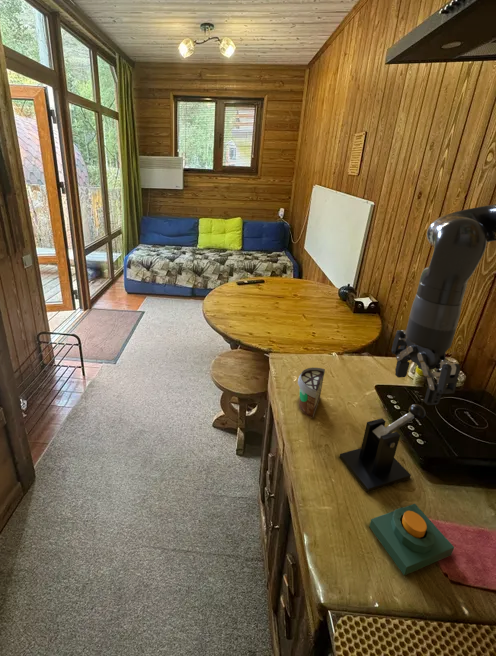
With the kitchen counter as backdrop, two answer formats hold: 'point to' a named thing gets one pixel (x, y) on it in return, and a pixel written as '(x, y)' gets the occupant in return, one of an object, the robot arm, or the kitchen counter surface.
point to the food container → (310, 389)
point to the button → (414, 524)
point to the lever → (400, 421)
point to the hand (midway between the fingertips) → (414, 389)
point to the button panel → (410, 540)
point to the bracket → (376, 460)
